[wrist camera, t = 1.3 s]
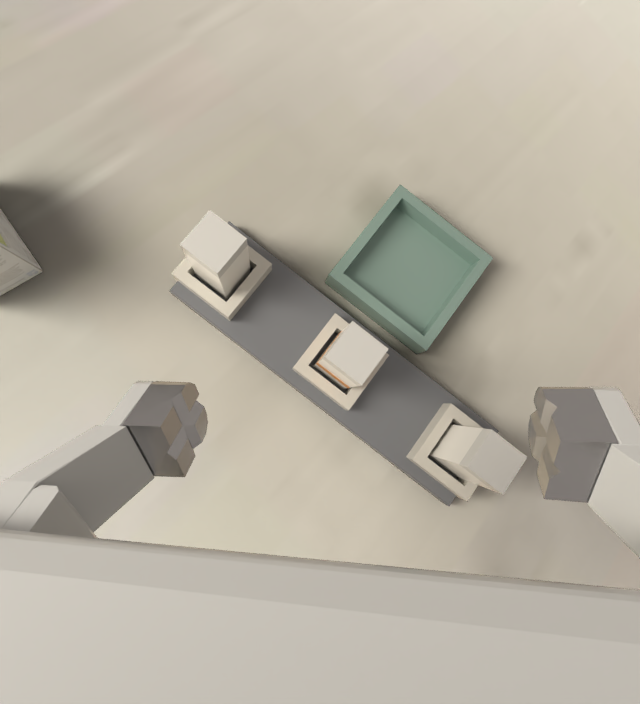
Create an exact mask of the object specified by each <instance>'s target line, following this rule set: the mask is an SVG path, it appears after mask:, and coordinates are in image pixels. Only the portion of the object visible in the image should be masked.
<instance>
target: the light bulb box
mask: <svg viewBox="0 0 640 704" xmlns="http://www.w3.org/2000/svg"><path fill="white" fill-rule="evenodd" d="M41 272H43V270H42V269H41V267H40V266H39V264H38V263H37V261H36V260H35V258H34V257H33V255H32V254H31V252H30V251H29V250H28V248H27V247H26V245H25V244H24V242H23V241H22V239H21V238H20V237H19V235H18V234H17V232H16V231H15V229H14V228H13V226H12V225H11V223H10V222H9V220H8V219H7V217H6V216H5V214H4V213H3V212H2V210H1V209H0V296H1V295H3V294H4V293H6V292H8V291H10V290H11V289H13V288H15V287H17V286H18V285H20V284H22V283H24V282H25V281H27V280H29V279H31V278H33V277H34V276H36V275H38V274H40V273H41Z"/></svg>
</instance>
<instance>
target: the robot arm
mask: <svg viewBox="0 0 640 704" xmlns="http://www.w3.org/2000/svg"><path fill="white" fill-rule="evenodd" d="M198 395H199V393H198V390H197V388H196V386H195V384H192V383H190V382H164V381H155V382H153V381H138V382H135V383H133V384H132V386H131V387H130V388H129V390H128V391H127V392H126V394H125V395H124V396H123V398H122V399H121V400H120V402H119V403H118V404H117V406H116V407H115V408H114V410H113V411H112V412H111V414H110V415H109V416H108V418H107V419H106V420H105V422H104V423H103V424H102V425H96V426H94V427H93V428H91V429H89V430H88V431H86V432H84V433H83V434H81V435H79V436H78V437H76V438H74V439H73V440H71V441H69V442H68V443H66V444H64V445H62V446H61V447H59V448H57V449H56V450H54V451H52V452H51V453H49V454H47V455H46V456H44V457H42V458H41V459H39V460H37V461H36V462H34V463H32V464H31V465H29V466H27V467H26V468H24V469H22V470H21V471H19V472H17V473H16V474H14V475H12V476H11V477H9V478H7V479H6V480H4V481H3V482H2V483H1V484H0V704H640V590H635V589H624V588H614V587H603V586H593V585H582V584H572V583H561V582H551V581H541V580H530V579H520V578H509V577H499V576H488V575H477V574H467V573H456V572H446V571H435V570H424V569H414V568H403V567H393V566H382V565H371V564H361V563H350V562H340V561H329V560H319V559H308V558H298V557H288V556H277V555H267V554H256V553H246V552H235V551H225V550H215V549H204V548H194V547H183V546H173V545H162V544H152V543H141V542H131V541H120V540H110V539H99V538H97V537H96V535H95V534H94V533H93V532H94V531H95V530H97V529H98V528H99V527H100V526H101V525H102V524H103V523H104V522H105V521H107V520H108V519H109V518H110V517H111V516H112V515H113V514H114V513H116V512H117V511H118V510H119V509H120V508H121V507H122V506H123V505H125V504H126V503H127V502H128V501H129V500H130V499H131V498H132V497H134V496H135V495H136V494H137V493H138V492H139V491H140V490H141V489H142V488H144V487H145V486H146V485H147V484H148V483H149V482H150V481H151V480H153V479H154V476H166V477H185V476H186V474H187V472H188V470H189V468H190V466H191V464H192V462H193V460H194V458H195V453H194V450H193V449H194V448H195V447H196V446H198V445H199V444H200V443H202V441H203V439H204V437H205V435H206V430H207V424H208V420H207V413H206V411H205V408H204V406H203V405H201V404H200V403H199V402H198V401H196V399H197V397H198ZM534 403H535V406H536V409H537V410H536V411H535V412H534V413H532V414H531V415H530V421H529V433H528V438H529V445H530V450H531V454H532V457H534V458H535V459H536V460H537V461H538V462H539V465H538V469H537V476H538V480H539V483H540V487H541V490H542V494H543V498H544V499H552V500H564V501H575V502H587V503H588V505H589V506H590V507H591V509H592V510H593V511H594V512H595V513H596V514H597V515H598V516H599V517H600V518H601V519H602V520H603V521H604V522H605V523H606V524H607V525H608V526H609V527H610V528H611V529H612V530H613V531H614V532H615V533H616V534H617V536H618V537H619V538H620V539H621V540H622V541H623V542H624V543H625V544H626V545H627V546H628V547H629V548H630V549H631V550H632V551H633V552H634V553H635V554H636V555H637V556H638V557H639V558H640V424H639V422H638V421H637V419H636V417H635V415H634V414H633V412H632V410H631V408H630V406H629V405H628V403H627V401H626V399H625V398H624V396H623V394H622V392H621V390H620V389H618V388H617V387H589V388H588V387H538V389H537V391H536V393H535V397H534Z"/></svg>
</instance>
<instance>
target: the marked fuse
mask: <svg viewBox="0 0 640 704" xmlns="http://www.w3.org/2000/svg"><path fill="white" fill-rule="evenodd" d="M387 351H388V348H387V347H386V346H384V345H383V344H382V343H380V342H379V341H378V340H377V339H375V338H374V337H373V336H371V335H370V334H369V333H368V332H366V331H365V330H364V329H362V328H361V327H360V326H359V325H357V324H356V323H355V322H353V321H352V322H351V323H350V324H349V325H348V326H347V327H345V328H344V329H343V330H342V331H341V332H340V333H339V334H338V335H337V336H336V337H335V338H334V339H333V341H332V342H331V343H330V344H329V346H328V347H327V348H326V350H325V351H324V352H323V354H322V355H321V356H320V358H319V359H318V360H317V361H316V363H315V364H314V365H313V367H314V368H316V369H317V370H318V371H320V372H321V373H322V374H323V375H325V376H326V377H327V378H329V379H330V380H331V381H332V382H334V383H335V384H336V385H338V386H339V387H340V388H342V389H345V388H350V387H356V386H362V385H363V383H364V382H365V381H366V379H367V378H368V376H369V375H370V374H371V372H372V371H373V370H374V368H375V367H376V366H377V364H378V363H379V362H380V360H381V359H382V357H383V356H384V355H385V353H386V352H387Z"/></svg>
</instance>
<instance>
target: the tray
mask: <svg viewBox="0 0 640 704" xmlns="http://www.w3.org/2000/svg"><path fill="white" fill-rule="evenodd" d="M492 259H493V258H492V257H491V256H490V255H489V254H487V253H486V252H485V251H484V250H482V249H481V248H480V247H479V246H477V245H476V244H475V243H474V242H472V241H471V240H470V239H468V238H467V237H466V236H465V235H463V234H462V233H461V232H460V231H458V230H457V229H456V228H455V227H453V226H452V225H451V224H450V223H448V222H447V221H446V220H444V219H443V218H442V217H441V216H439V215H438V214H437V213H436V212H434V211H433V210H432V209H431V208H429V207H428V206H427V205H426V204H424V203H423V202H422V201H421V200H419V199H418V198H417V197H415V196H414V195H413V194H412V193H410V192H409V191H408V190H407V189H405V188H404V187H403V186H402V185H399V186H398V188H397V189H396V190H395V192H394V193H393V194H392V195H391V197H390V198H389V199H388V200H387V202H386V203H385V204H384V205H383V207H382V208H381V209H380V210H379V212H378V213H377V214H376V216H375V217H374V218H373V219H372V221H371V222H370V223H369V224H368V226H367V227H366V228H365V229H364V231H363V232H362V233H361V234H360V236H359V237H358V238H357V240H356V241H355V242H354V243H353V245H352V246H351V247H350V248H349V250H348V251H347V252H346V253H345V255H344V256H343V257H342V258H341V260H340V261H339V262H338V264H337V265H336V266H335V267H334V269H333V270H332V271H331V272H330V274H329V275H328V277H327V279H326V281H325V283H326V284H327V285H329V286H330V287H331V288H332V289H334V290H335V291H336V292H337V293H339V294H340V295H341V296H343V297H344V298H345V299H346V300H348V301H349V302H350V303H352V304H353V305H354V306H355V307H357V308H358V309H359V310H361V311H362V312H363V313H364V314H366V315H367V316H368V317H370V318H371V319H372V320H373V321H375V322H376V323H377V324H379V325H380V326H381V327H382V328H384V329H385V330H386V331H387V332H389V333H390V334H391V335H393V336H394V337H395V338H396V339H398V340H399V341H400V342H402V343H403V344H404V345H405V346H407V347H408V348H409V349H411V350H412V351H413V352H414V353H416V354H418V353H421V352H424V351H427V350H428V348H429V347H430V345H431V344H432V343H433V341H434V340H435V338H436V337H437V336H438V334H439V333H440V331H441V330H442V329H443V327H444V326H445V324H446V323H447V322H448V320H449V319H450V317H451V316H452V315H453V313H454V312H455V311H456V309H457V308H458V306H459V305H460V304H461V302H462V301H463V299H464V298H465V297H466V295H467V294H468V292H469V291H470V290H471V288H472V287H473V285H474V284H475V283H476V281H477V280H478V278H479V277H480V276H481V274H482V273H483V272H484V270H485V269H486V267H487V266H488V265H489V263H490V262H491V260H492Z"/></svg>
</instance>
